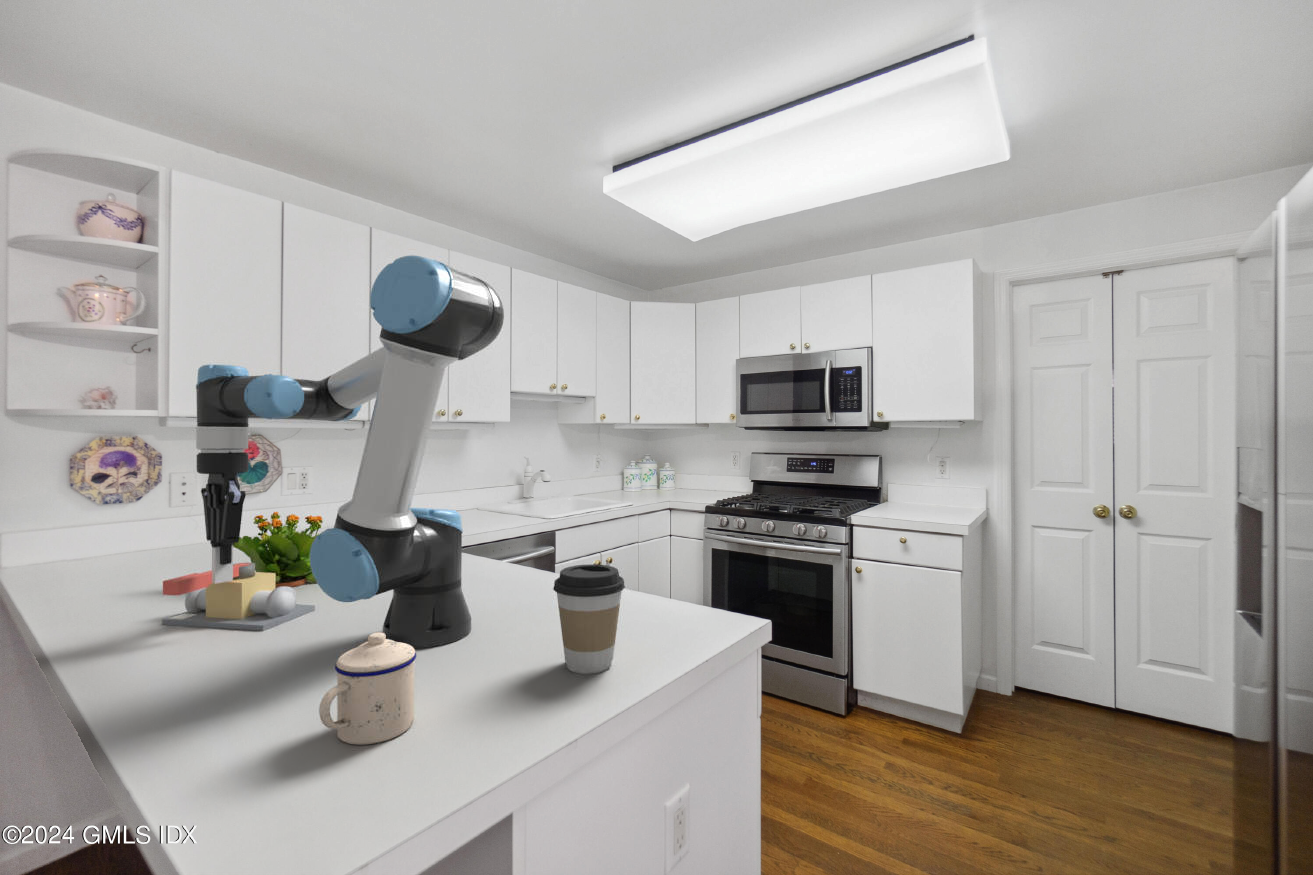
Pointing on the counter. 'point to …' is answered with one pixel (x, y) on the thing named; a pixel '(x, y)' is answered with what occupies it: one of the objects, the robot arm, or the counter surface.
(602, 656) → the coffee cup
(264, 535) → the potted flower
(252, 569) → the lever
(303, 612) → the valve base
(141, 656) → the counter surface
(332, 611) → the counter surface
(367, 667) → the teacup with lid
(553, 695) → the counter surface
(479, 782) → the counter surface
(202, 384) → the robot arm
